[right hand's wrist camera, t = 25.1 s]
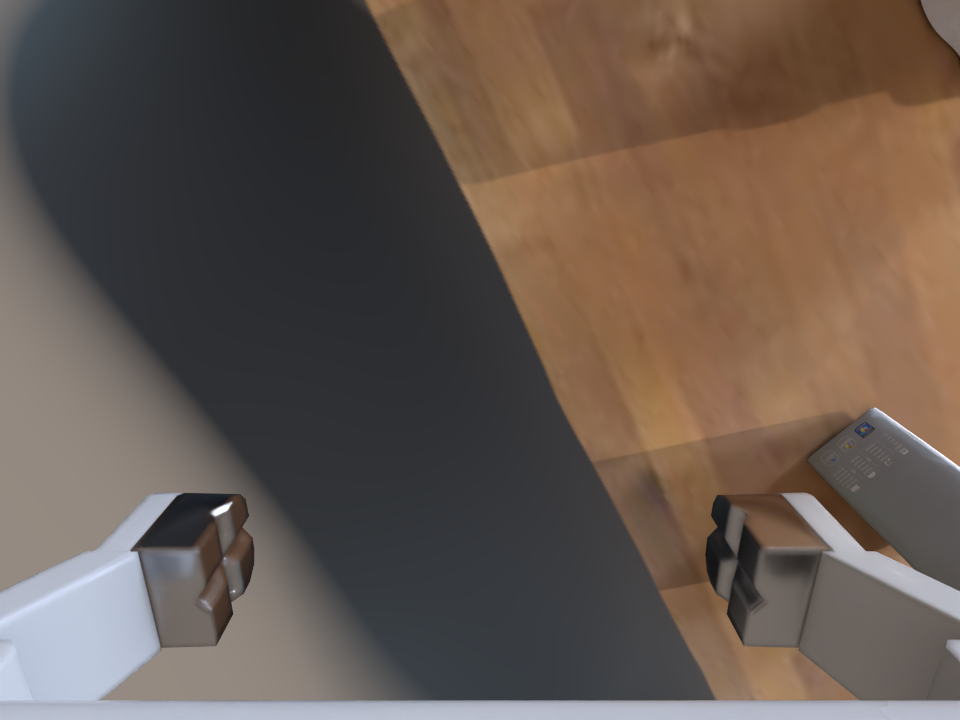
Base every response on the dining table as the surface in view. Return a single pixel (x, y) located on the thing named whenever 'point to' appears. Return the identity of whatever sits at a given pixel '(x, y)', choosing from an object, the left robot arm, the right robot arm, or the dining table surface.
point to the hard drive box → (898, 491)
